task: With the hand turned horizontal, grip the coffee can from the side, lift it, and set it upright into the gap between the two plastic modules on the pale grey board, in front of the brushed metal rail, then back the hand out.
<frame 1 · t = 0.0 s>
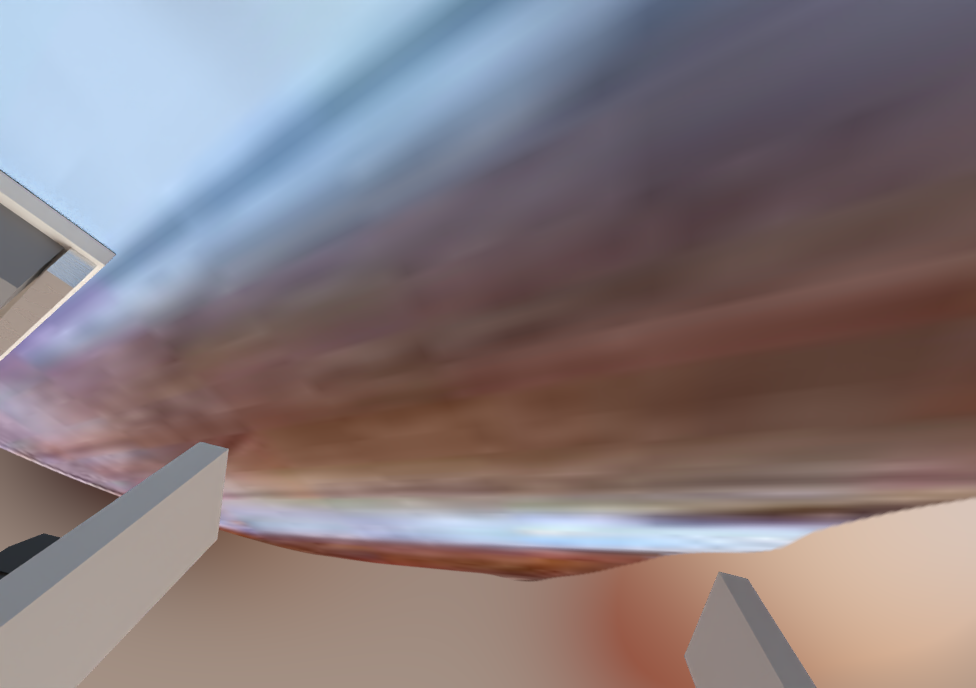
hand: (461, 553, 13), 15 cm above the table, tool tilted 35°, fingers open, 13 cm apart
metal rail: (12, 327, 36), on the mounting board, point 1 cm above the table
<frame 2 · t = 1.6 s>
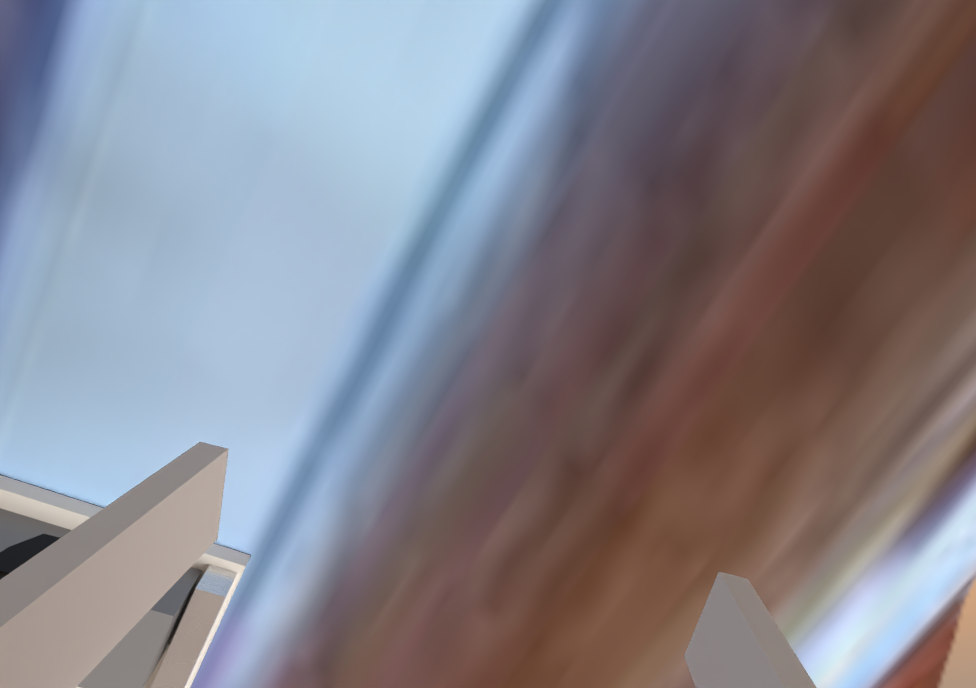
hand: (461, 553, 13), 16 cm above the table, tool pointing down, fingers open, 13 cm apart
module 1: (56, 600, 25), on the mounting board, point 3 cm above the table
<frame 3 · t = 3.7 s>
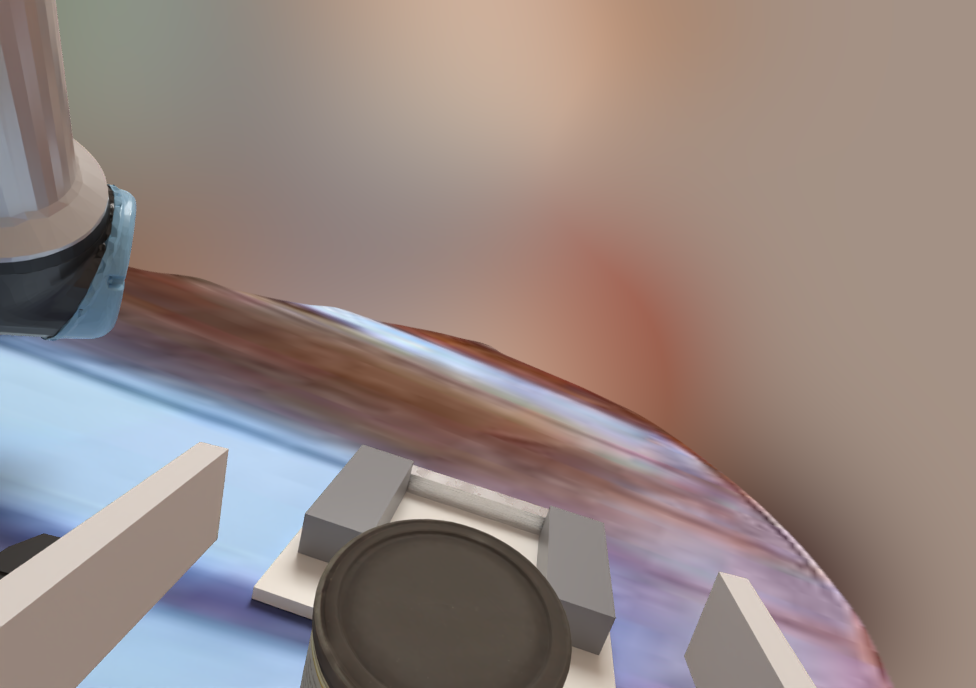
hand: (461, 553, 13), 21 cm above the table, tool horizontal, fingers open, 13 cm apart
module 2: (571, 571, 41), on the mounting board, point 3 cm above the table
metal rail: (476, 500, 48), on the mounting board, point 1 cm above the table
module 1: (362, 501, 42), on the mounting board, point 3 cm above the table
mounting board: (454, 571, 42), on the table
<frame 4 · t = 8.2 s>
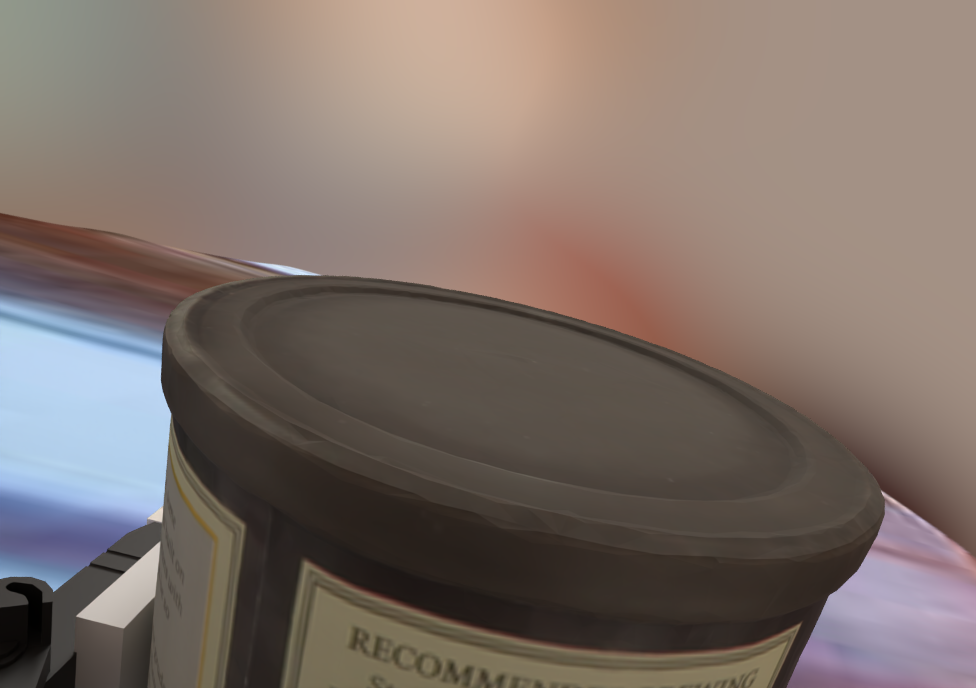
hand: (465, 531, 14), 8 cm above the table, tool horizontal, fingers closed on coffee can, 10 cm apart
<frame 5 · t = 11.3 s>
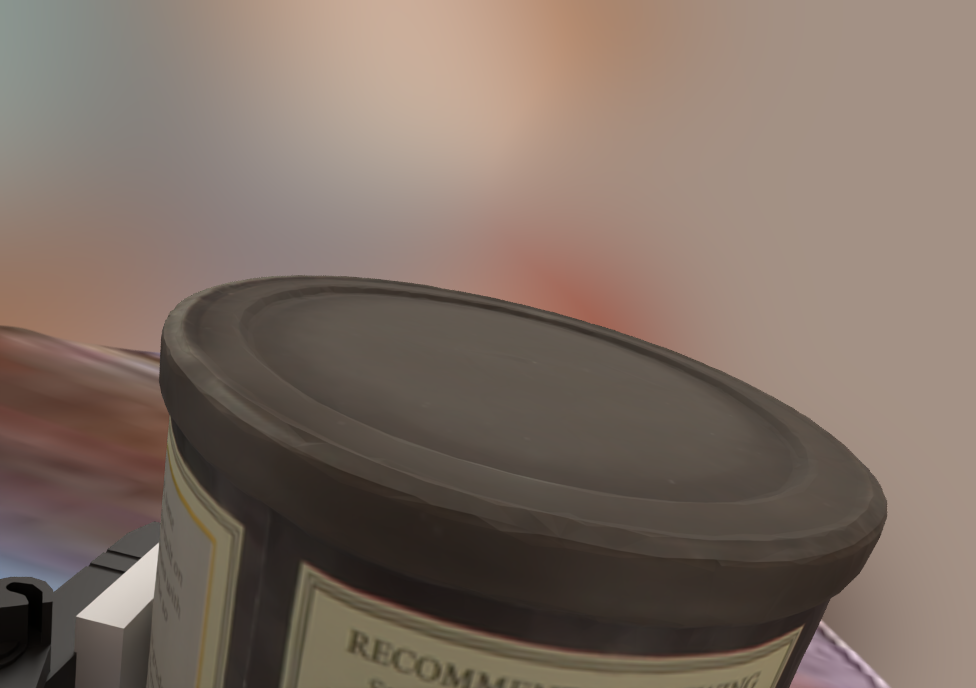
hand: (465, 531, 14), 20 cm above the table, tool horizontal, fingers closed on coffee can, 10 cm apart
when the fingers open (10 cm above the table, at t = 14.7 s): coffee can drops 1 cm, resting on mounting board.
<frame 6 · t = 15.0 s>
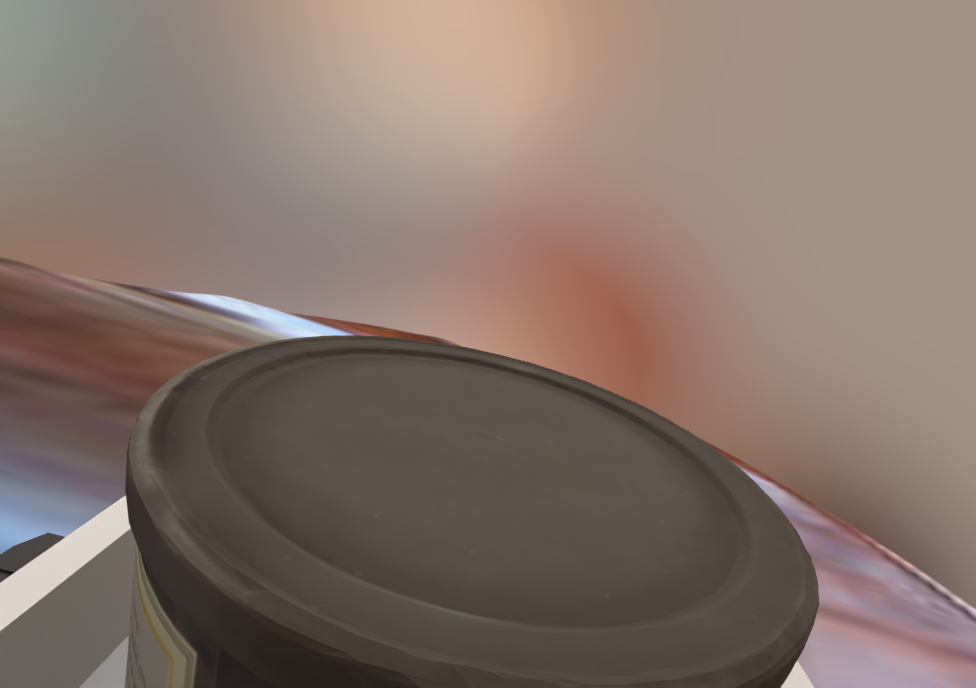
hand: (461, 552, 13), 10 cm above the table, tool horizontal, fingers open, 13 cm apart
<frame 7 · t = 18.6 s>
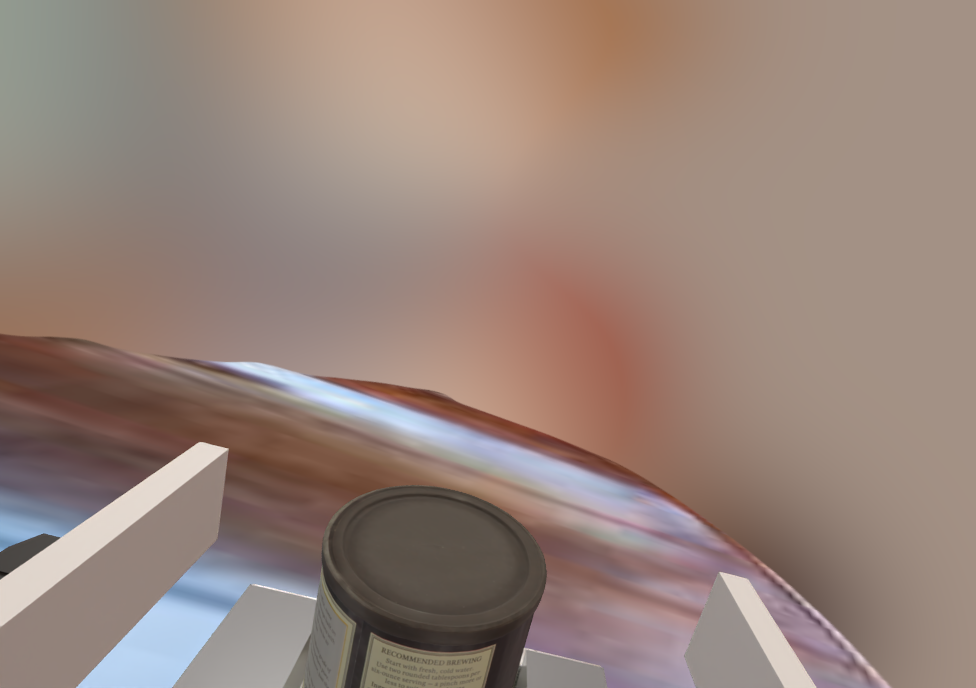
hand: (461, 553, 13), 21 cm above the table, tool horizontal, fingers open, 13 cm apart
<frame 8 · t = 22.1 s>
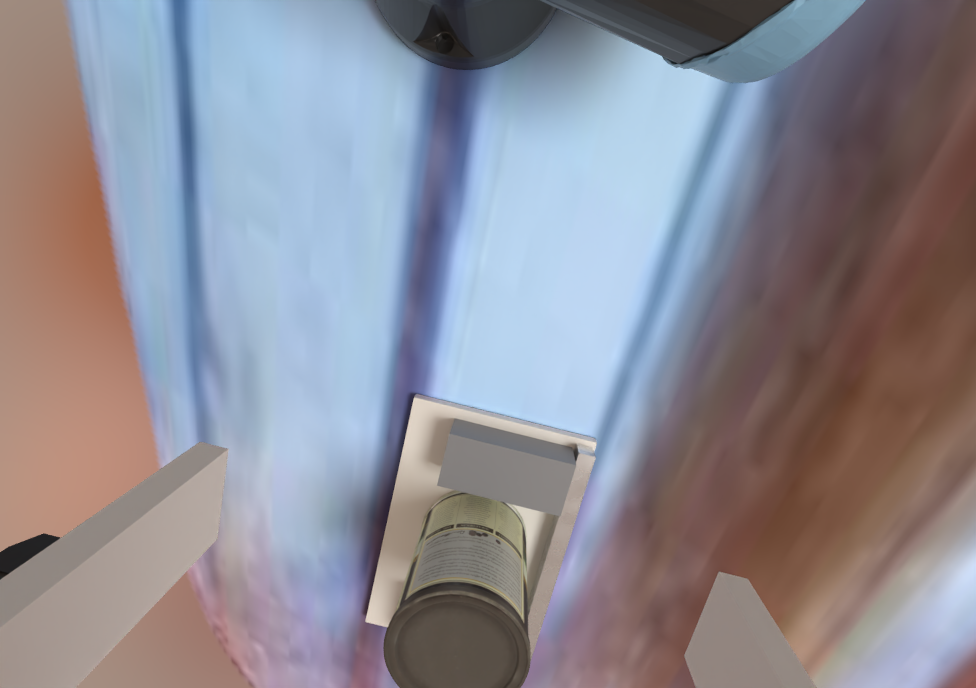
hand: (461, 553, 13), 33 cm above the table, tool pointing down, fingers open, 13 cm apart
metal rail: (550, 563, 48), on the mounting board, point 1 cm above the table
coffee can: (474, 533, 49), point 1 cm above the table, touching mounting board
module 1: (506, 466, 45), on the mounting board, point 3 cm above the table
mounting board: (474, 531, 50), on the table
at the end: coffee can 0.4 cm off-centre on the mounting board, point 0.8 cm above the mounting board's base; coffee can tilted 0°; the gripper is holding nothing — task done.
